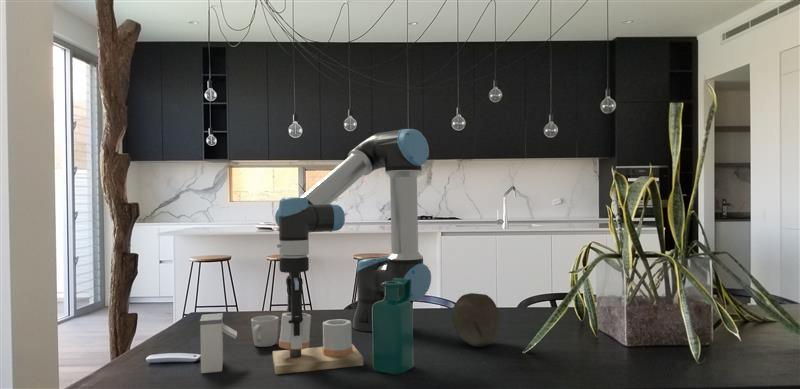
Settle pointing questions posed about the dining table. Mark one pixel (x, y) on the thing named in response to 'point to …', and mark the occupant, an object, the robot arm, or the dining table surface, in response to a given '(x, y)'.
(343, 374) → the dining table surface
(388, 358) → the green square bottle
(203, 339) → the box
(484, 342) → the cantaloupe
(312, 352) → the pin board
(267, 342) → the cup
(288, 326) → the sleeve
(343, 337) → the sleeve seated
